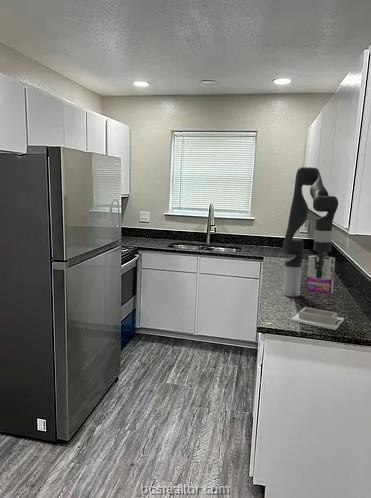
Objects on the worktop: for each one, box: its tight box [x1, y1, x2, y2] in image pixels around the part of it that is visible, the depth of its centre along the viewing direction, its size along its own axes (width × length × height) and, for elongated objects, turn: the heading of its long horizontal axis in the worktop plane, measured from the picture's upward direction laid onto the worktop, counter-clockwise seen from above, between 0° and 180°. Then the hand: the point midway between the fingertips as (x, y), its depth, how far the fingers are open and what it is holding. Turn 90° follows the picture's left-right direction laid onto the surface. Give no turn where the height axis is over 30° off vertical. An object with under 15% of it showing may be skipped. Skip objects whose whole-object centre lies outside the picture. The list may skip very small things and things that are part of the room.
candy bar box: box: [305, 254, 336, 295], centre depth 171 cm, size 11×5×16 cm, turn 56°
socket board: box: [290, 306, 345, 331], centre depth 174 cm, size 16×20×4 cm
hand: (320, 276), depth 171 cm, fingers closed on candy bar box, 5 cm apart
